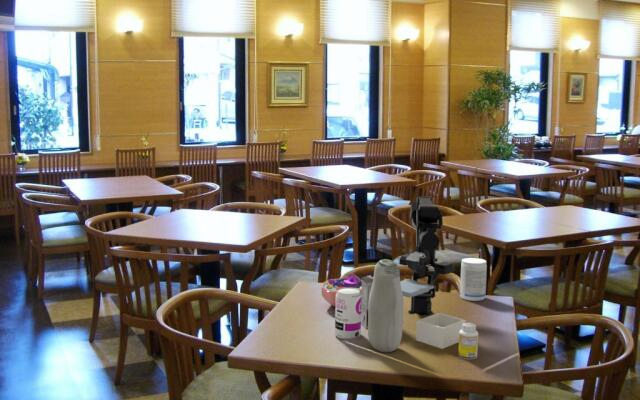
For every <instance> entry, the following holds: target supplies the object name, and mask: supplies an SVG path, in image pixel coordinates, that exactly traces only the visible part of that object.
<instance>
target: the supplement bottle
mask: <svg viewBox="0 0 640 400" xmlns="http://www.w3.org/2000/svg"><path fill="white" fill-rule="evenodd" d="M478 344H479V332H478V331H477V325H476V324H475V323H473V322H465V323H463V324H462V329H461V330H460V331H459V342H458V350H457V351H458V353H457V356H458V357H459V358H460V359H464V360H474V359H475V360H476V359H477V358H478V352H479V351H478V348H479V347H478V346H479V345H478Z"/></svg>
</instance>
